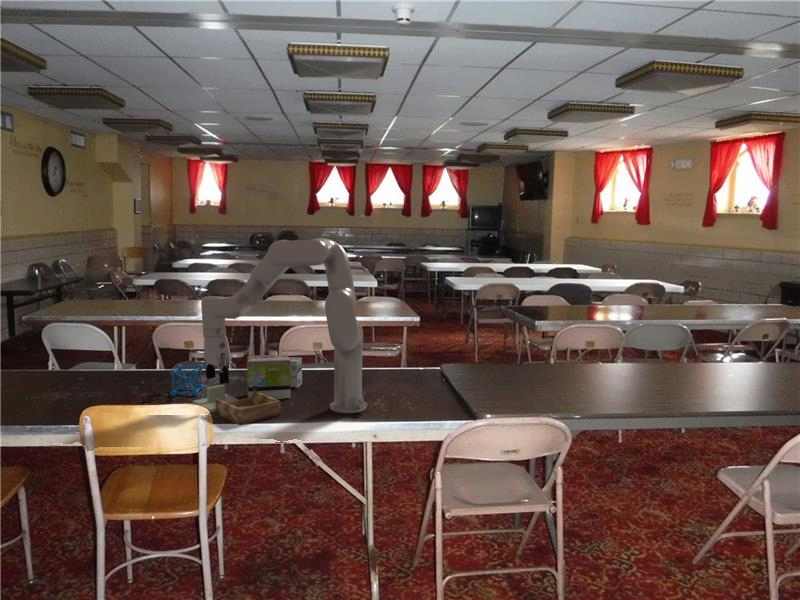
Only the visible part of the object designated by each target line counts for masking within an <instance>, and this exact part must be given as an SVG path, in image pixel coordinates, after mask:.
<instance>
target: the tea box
mask: <svg viewBox="0 0 800 600" xmlns="http://www.w3.org/2000/svg"><path fill="white" fill-rule="evenodd" d="M290 364H291V362H290V359H289V355H288V354H267V355H265V354H264V355H263V354H261V355H247V356H246V370H247V371H246V377H247V378H246V382H247V383H246V385H247V386H246V387H247V388H246V389H247V390H246V391H247V392H246V393H247V398H249V397H253V391H258V392H260V393H262V394H265V395H267V396H270V397H272V398H275V399H277V400H286V399H285V398H290V399H291V382H290V369H291V368H290V367H291V365H290Z"/></svg>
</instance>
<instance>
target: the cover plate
mask: <svg viewBox="0 0 800 600" xmlns="http://www.w3.org/2000/svg"><path fill="white" fill-rule="evenodd" d="M215 399H220V400H223V401H225V402H231V401H235V400H239V399H238V398H236V397H234V396H232V395H229V394H227V393H226V385H225V384H218V385H214V386H208V387H206V397H204V398H200V399H193V400H192V403H193V405H194V404H198V405H201V406H204V407H206V408H207V409H208V410H209V411H210V412H215V411H216V401H215Z"/></svg>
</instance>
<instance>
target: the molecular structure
mask: <svg viewBox="0 0 800 600" xmlns="http://www.w3.org/2000/svg"><path fill="white" fill-rule="evenodd" d="M183 369H192V370H191V371H183ZM203 369H204V366H203V364H202V363H199V364H197V365H193V366H189V365H187V366H183V365H182V364H179V363H177V364H176V366H175V369H171V370H170V371H169V375H170V376H171V379H172V380H171V381H172V390H171V391H170V395H171V396H172V397H176V396H177V395H192V396H194V397H197V396H198V395H199V391H203V389H204V388H205V387H204V384H203V383H202V370H203ZM186 374H190V375H189V376H186ZM197 375H198V377H199V378H198V381H199V383H197ZM175 376H177V377H178V384H177V386H176V385H175ZM192 377H193V381H192V380H191V379H192ZM181 379H182V380H183V382H182V381H181ZM185 384H188V385H185ZM183 389H191V390H192V391H182V390H183Z"/></svg>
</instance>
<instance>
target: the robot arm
mask: <svg viewBox="0 0 800 600" xmlns="http://www.w3.org/2000/svg"><path fill="white" fill-rule="evenodd" d="M321 265H324V268H325V272H326V273H325V274H326V275H325V276H326V282H327V286H328V295H327V297H326V299H325V301H324V302H325V303H324V309H325V310H324V311H325V318H326V324H327V330H328V335H329V340H330V343H331V345H332V346H333V347H334V352H333V353H334V354H333V357H334V358H333V361H334V365H333V367H334V368H333V369H334V370H333V371H334V372H333V374H334V375H333V377H334V379H333V384H334V385H333V387H334V389H333V391H334V392H333V393H334V395H333V397H334V399H333V400H334V401H333V402H331V403H330V404H329V410H331V411H332V412H334V413H338V414H356V413H361V412H363V411H365V410H366V409H367V406H368V405H369V404H368V402H365V399H364V396H363V346H364V345H363V343H364V331H363V326H362V324H361V322H360V321H359V320H358V319H357V315H356V310H355V308H356V306H357V300H358V299H357V296H356V291H355V285H354V280H353V274H352V267H351V263H350V259H349V257H348V254H347V252H346V251H345V250H344V248H343V246H342V245H340V244H339V243H337V242H336V241H334V240H332V239H329V238H327V237H326V238H325V237H316V238H313V239H300V240H297V239H296V240H288V239H281V240H277V241H274V242H273V243H271V244H270V246H268V250H267V253H266V254H265V255H264V257H263V258H261V259H260V261H258V263H257V264H256V265H254V267H253V268H252V270H251V271H250V277H249V278H248V280H247V281H246V282H245V284H243V286H241V288H240V289H239V290H238V291H237V292H236V293H234V294H233V295H230V296H228V297H222V296H218V295H211V296H210V295H209V296H205V297H202V299H201V300H200V306H201V321H202V323H201V325H202V337H203V339H204V340H203V354H202V357H203V362H204V368H205V374H206V375H205V376H206V377H205V378H206V379H207V380H211V379H214V378H216V367H218V370H219V372H218V377H219V379H218V380H219V385H225V384H229V383H230V378H229V377H230V375H229V374H230V373H229V371H230V367H231V366H230V365H231V364H230V363H231V359H230V351H229V343H228V339H227V329H226V328H227V327H226V326H227V325H226V319H229V320H235V319H238V318H240V317H241V316H243V315H245V314H247V313H248V312H249V311H250V310H252V309H253V307H254V306H255V305H256V304H257V303H258V302H259V301H260V300H261V299H262V298H263V297H264V296H265V294H266V293H267V292H268V291H269V290H270V289H271V288H272V286H273V285H274V284H275V283H276V282H277V281H278V280H279V279H280V278H281V277H282V276H283V275H284V273H286V272H287V271H288V270H289V269H290V268H294V267H295V268H296V267H312V266H313V267H315V266H321Z"/></svg>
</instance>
